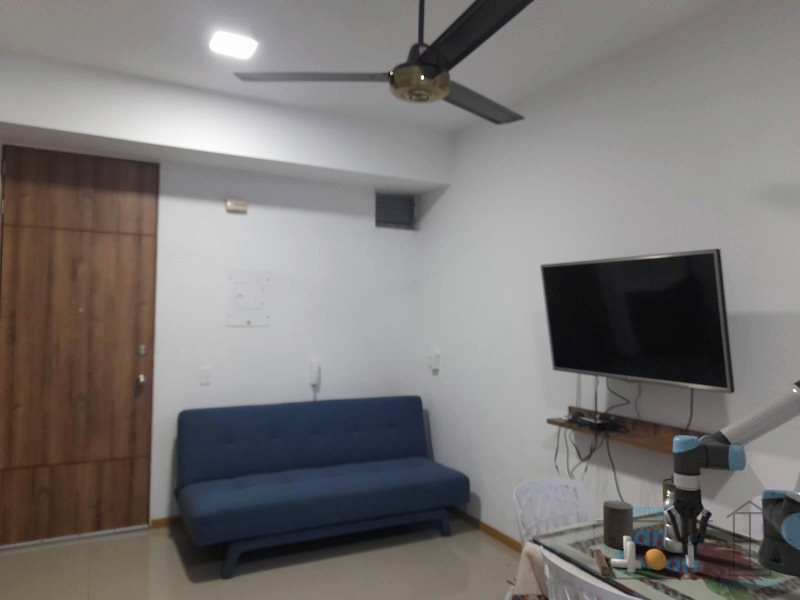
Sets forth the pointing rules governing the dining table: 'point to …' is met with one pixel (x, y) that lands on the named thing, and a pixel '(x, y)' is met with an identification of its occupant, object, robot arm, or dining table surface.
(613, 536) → the pillar candle
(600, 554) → the brown wooden stick
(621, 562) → the front pin
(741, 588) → the dining table surface
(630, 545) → the pin
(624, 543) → the pin
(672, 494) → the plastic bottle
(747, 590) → the dining table surface
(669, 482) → the canister
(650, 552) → the ball
